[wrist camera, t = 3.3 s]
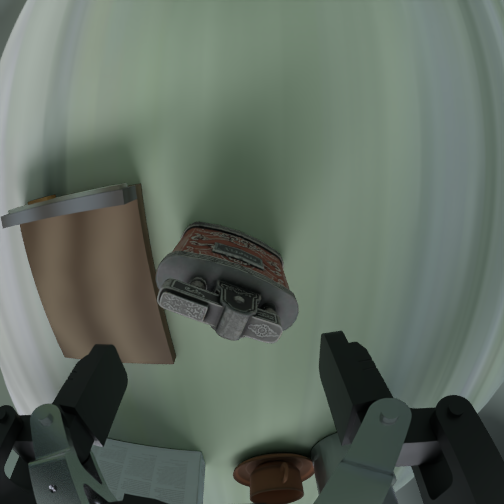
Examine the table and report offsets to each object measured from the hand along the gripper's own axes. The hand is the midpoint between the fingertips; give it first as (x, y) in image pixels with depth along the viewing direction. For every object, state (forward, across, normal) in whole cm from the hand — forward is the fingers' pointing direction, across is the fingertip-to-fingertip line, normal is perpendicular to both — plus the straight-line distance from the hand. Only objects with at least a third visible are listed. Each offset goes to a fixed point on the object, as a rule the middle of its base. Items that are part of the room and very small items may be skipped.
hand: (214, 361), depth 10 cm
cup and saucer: (+13, -2, +34) cm, 36 cm away
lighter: (+13, 0, 0) cm, 13 cm away
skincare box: (+13, +18, +30) cm, 37 cm away
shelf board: (+13, +13, +2) cm, 18 cm away
